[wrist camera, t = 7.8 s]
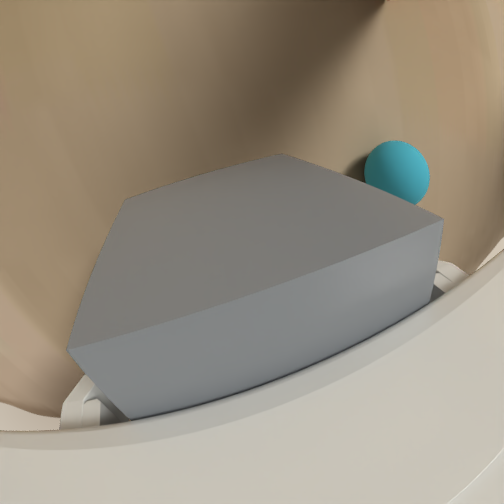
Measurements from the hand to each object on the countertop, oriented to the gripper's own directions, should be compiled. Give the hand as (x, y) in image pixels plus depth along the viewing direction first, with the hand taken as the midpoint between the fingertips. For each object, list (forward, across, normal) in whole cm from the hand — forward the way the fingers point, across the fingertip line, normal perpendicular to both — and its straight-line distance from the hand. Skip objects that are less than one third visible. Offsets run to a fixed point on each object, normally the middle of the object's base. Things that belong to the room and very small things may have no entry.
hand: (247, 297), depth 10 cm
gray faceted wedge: (+4, 0, 0) cm, 4 cm away
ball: (+7, -13, 0) cm, 15 cm away
